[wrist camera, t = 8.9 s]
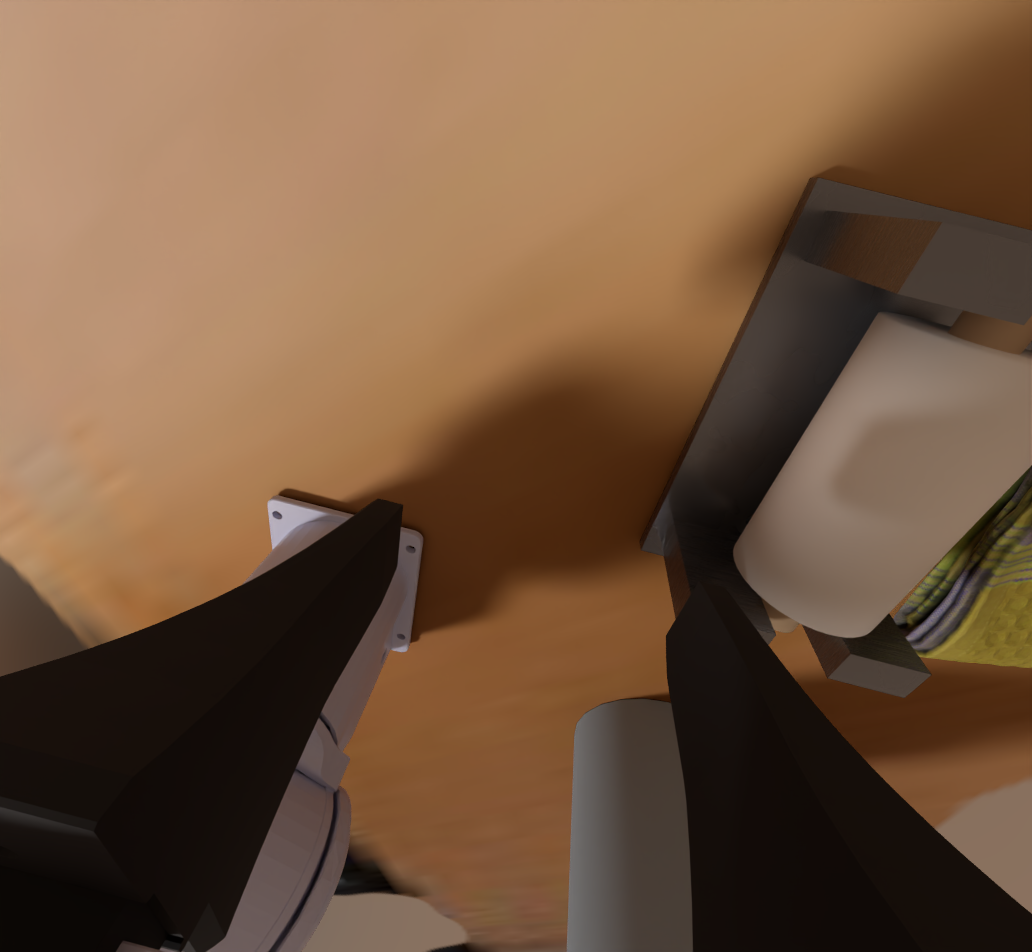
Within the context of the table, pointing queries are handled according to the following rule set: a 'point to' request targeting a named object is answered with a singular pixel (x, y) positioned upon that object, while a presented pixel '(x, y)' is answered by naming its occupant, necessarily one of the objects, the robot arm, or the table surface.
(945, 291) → the roll holder
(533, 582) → the table surface
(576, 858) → the spray bottle
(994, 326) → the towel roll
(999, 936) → the robot arm
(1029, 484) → the dish towel
